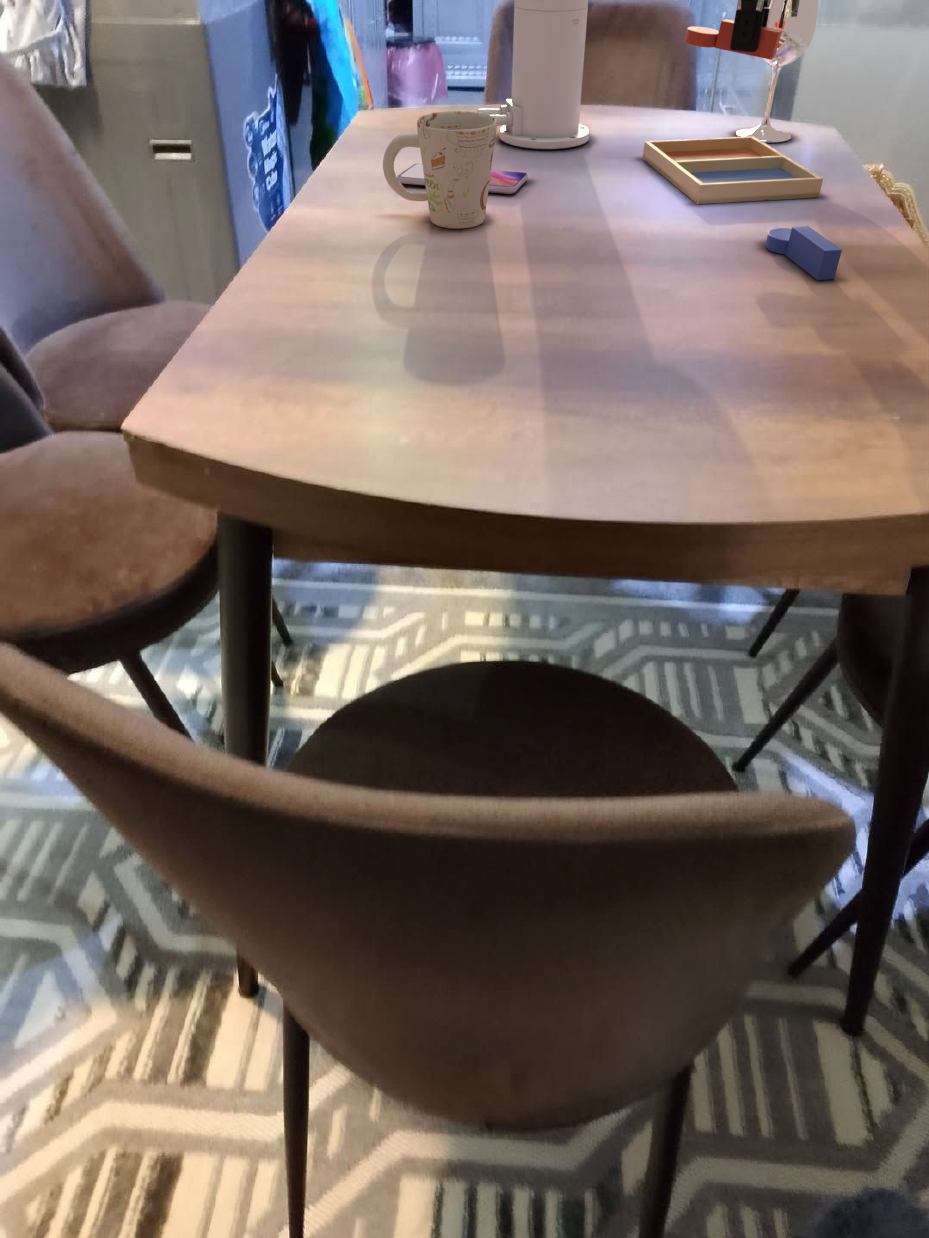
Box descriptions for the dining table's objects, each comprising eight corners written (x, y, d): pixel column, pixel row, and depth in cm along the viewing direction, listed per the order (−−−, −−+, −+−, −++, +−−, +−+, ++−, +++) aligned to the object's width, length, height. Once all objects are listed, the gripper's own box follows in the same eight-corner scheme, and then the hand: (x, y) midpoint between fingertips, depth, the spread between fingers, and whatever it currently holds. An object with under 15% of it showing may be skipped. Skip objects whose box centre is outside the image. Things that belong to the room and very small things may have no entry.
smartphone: (414, 162, 115) (529, 172, 112) (415, 170, 116) (529, 180, 113) (394, 177, 110) (514, 187, 107) (395, 184, 111) (514, 195, 107)
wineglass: (757, 146, 125) (792, -32, 112) (723, 133, 131) (752, -38, 117) (803, 140, 127) (842, -35, 114) (768, 127, 133) (801, -41, 120)
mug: (487, 235, 97) (489, 132, 91) (374, 227, 99) (368, 126, 93) (500, 211, 104) (503, 113, 97) (394, 204, 105) (389, 107, 99)
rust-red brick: (776, 56, 110) (784, 29, 108) (768, 61, 107) (776, 34, 105) (690, 38, 113) (696, 11, 111) (680, 43, 110) (686, 16, 108)
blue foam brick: (845, 278, 88) (853, 249, 86) (806, 281, 87) (813, 251, 86) (794, 240, 96) (800, 213, 94) (758, 243, 96) (764, 215, 94)
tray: (697, 204, 106) (700, 185, 104) (642, 158, 120) (644, 141, 119) (819, 197, 108) (823, 178, 106) (750, 153, 122) (753, 136, 121)
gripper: (763, -153, 104) (732, 37, 116) (727, -151, 93) (696, 57, 105) (831, -152, 101) (791, 41, 113) (801, -150, 91) (761, 63, 103)
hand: (746, 48), depth 109 cm, fingers closed on rust-red brick
